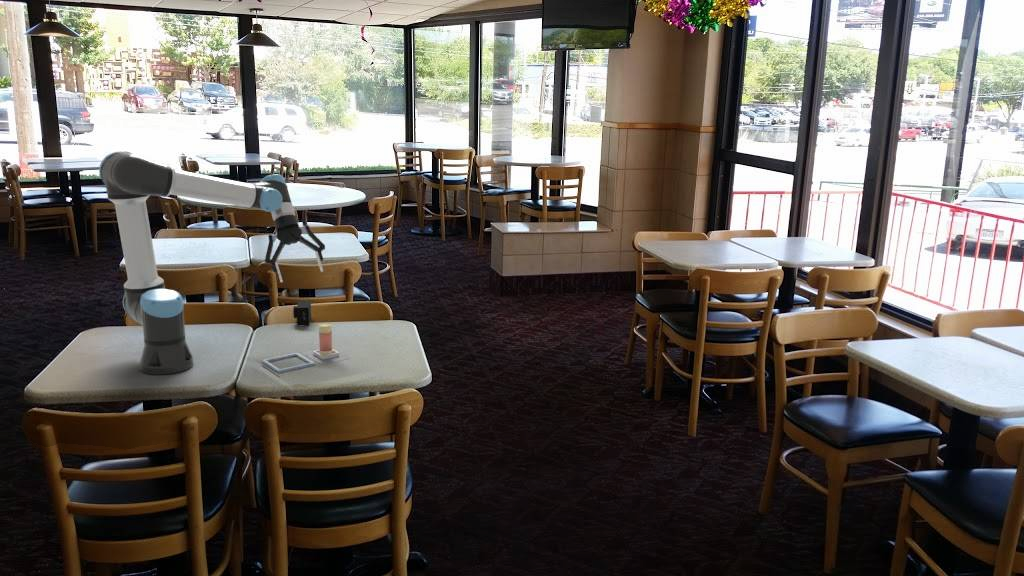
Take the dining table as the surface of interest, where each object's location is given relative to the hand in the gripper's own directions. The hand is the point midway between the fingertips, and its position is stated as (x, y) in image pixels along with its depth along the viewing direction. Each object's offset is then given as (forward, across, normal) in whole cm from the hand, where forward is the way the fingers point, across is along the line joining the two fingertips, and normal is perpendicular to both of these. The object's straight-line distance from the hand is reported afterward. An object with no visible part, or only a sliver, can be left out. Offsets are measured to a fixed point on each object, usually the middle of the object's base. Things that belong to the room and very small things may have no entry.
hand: (301, 275), depth 265 cm
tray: (+31, +12, +10) cm, 35 cm away
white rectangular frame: (+31, 0, +5) cm, 31 cm away
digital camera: (+8, +4, -33) cm, 34 cm away
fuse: (+29, 0, +6) cm, 30 cm away
